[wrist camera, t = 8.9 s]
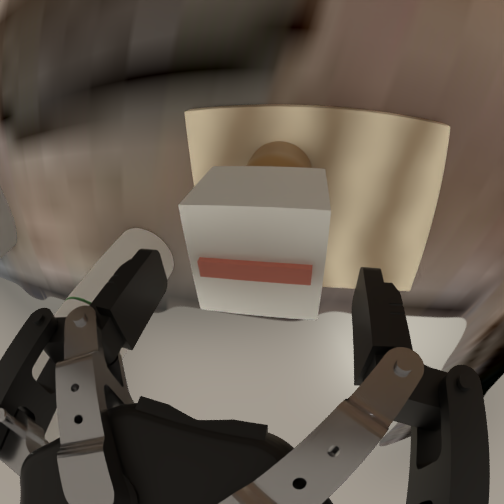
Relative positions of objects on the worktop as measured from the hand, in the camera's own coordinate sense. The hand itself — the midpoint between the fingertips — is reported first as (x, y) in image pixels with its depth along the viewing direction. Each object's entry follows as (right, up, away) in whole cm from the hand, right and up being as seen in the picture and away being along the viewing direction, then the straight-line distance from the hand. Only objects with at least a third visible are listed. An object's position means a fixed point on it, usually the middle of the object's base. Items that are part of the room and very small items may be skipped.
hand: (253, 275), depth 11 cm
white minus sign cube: (+1, +3, +4) cm, 5 cm away
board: (+5, +5, +12) cm, 14 cm away
